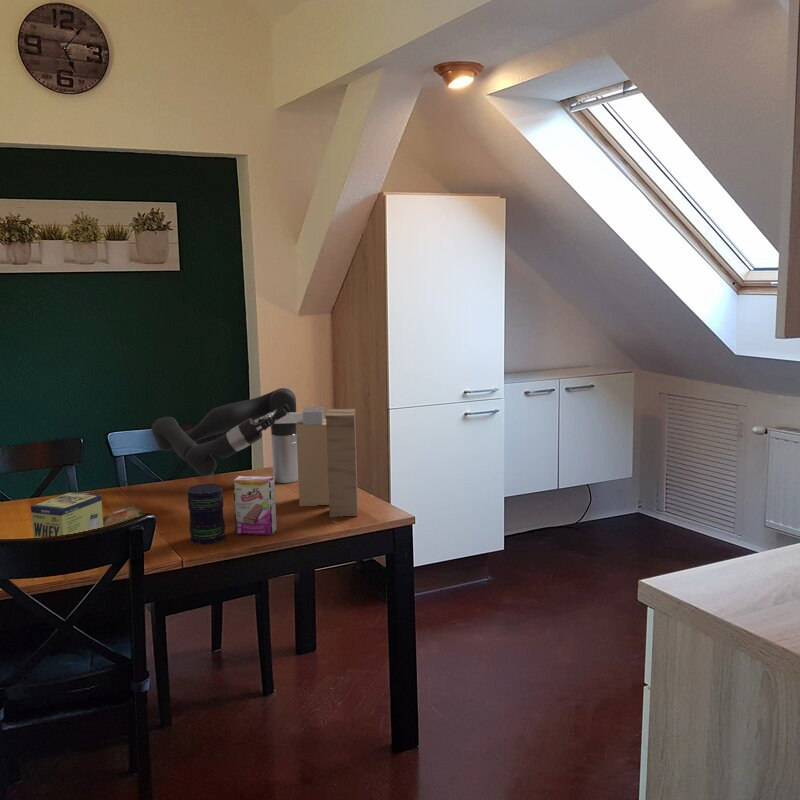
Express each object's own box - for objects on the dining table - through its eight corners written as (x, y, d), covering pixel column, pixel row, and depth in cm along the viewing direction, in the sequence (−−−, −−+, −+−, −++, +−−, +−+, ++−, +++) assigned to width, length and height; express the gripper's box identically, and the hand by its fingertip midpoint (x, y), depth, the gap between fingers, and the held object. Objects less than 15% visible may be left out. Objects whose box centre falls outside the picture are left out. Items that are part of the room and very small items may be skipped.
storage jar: (193, 534, 243) (190, 484, 240) (227, 533, 243) (224, 483, 241) (187, 546, 233) (184, 494, 230) (223, 544, 234) (220, 492, 231)
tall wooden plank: (331, 508, 266) (328, 409, 261) (358, 507, 267) (355, 408, 261) (329, 519, 255) (325, 415, 249) (357, 518, 255) (354, 415, 250)
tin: (105, 547, 234) (102, 518, 232) (97, 545, 235) (95, 516, 234) (147, 532, 246) (145, 504, 245) (139, 530, 248) (137, 503, 246)
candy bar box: (235, 535, 241) (232, 480, 239) (240, 529, 246) (237, 475, 244) (273, 535, 240) (270, 480, 238) (277, 530, 245) (274, 475, 243)
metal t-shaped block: (272, 420, 275) (271, 408, 274) (324, 418, 275) (323, 406, 274) (268, 425, 265) (267, 413, 264) (322, 424, 265) (321, 412, 264)
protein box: (34, 562, 222) (29, 505, 220) (77, 544, 237) (72, 490, 234) (65, 566, 219) (60, 509, 216) (106, 547, 233) (102, 493, 230)
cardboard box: (302, 497, 279) (299, 419, 275) (338, 496, 279) (335, 418, 275) (299, 506, 269) (296, 425, 265) (336, 505, 269) (333, 424, 265)
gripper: (253, 440, 278) (295, 415, 277) (247, 449, 264) (290, 423, 263) (241, 421, 277) (282, 395, 276) (233, 429, 263) (277, 402, 261)
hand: (286, 409), depth 269 cm, fingers open, 8 cm apart
